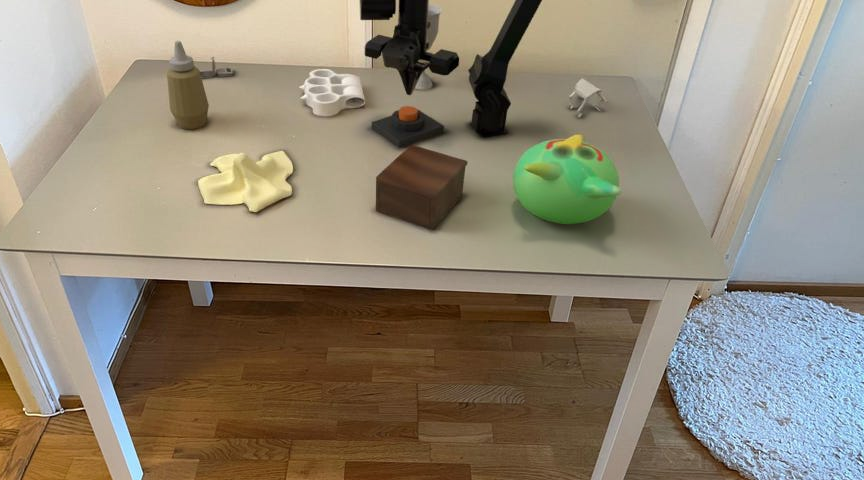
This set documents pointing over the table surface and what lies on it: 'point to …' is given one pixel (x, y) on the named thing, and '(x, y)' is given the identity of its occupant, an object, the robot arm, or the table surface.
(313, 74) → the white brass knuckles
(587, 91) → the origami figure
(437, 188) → the lid
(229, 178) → the cloth
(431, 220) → the tea box
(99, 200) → the table surface
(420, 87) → the chalice
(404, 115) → the button
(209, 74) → the strap clip
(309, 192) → the table surface
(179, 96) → the squeeze bottle
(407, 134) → the button block
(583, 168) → the toy bird
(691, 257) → the table surface
